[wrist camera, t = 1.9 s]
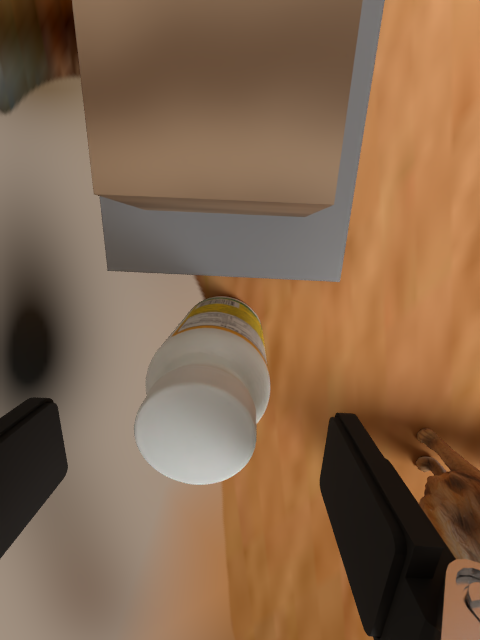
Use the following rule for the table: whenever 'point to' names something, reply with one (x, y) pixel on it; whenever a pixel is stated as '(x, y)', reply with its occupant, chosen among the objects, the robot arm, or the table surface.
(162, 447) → the supplement bottle
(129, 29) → the walnut block
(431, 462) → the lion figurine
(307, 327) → the table surface
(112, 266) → the base plate
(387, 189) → the table surface
